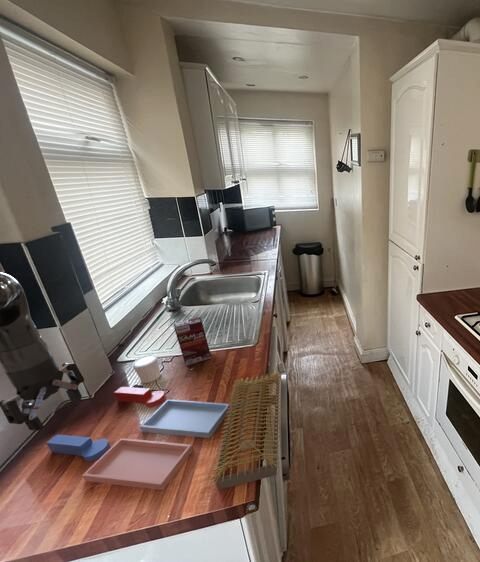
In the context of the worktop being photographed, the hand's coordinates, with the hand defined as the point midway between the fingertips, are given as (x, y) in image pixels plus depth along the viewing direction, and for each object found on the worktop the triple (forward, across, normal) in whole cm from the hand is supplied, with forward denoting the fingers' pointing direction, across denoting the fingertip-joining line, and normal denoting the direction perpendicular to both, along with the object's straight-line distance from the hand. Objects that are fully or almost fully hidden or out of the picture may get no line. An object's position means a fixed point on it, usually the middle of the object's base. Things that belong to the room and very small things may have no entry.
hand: (58, 414), depth 74 cm
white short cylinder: (+12, -28, -4) cm, 31 cm away
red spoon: (+12, -18, +2) cm, 22 cm away
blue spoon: (+12, 0, +1) cm, 12 cm away
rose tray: (+12, +2, +20) cm, 23 cm away
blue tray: (+12, -12, +22) cm, 28 cm away
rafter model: (+13, -12, +42) cm, 45 cm away
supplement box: (+13, -39, +6) cm, 41 cm away
